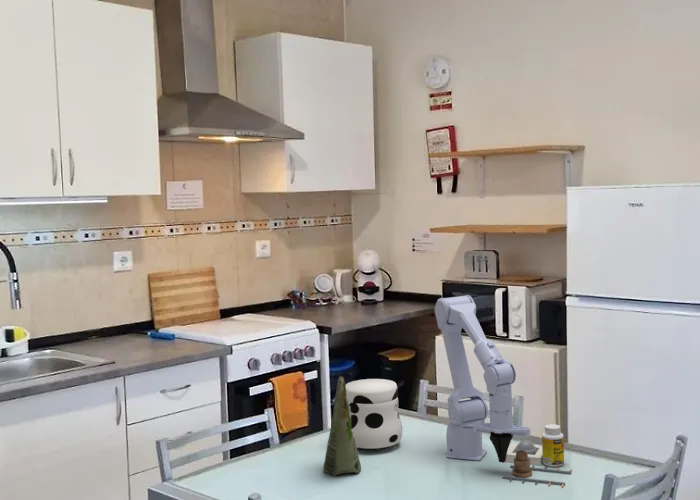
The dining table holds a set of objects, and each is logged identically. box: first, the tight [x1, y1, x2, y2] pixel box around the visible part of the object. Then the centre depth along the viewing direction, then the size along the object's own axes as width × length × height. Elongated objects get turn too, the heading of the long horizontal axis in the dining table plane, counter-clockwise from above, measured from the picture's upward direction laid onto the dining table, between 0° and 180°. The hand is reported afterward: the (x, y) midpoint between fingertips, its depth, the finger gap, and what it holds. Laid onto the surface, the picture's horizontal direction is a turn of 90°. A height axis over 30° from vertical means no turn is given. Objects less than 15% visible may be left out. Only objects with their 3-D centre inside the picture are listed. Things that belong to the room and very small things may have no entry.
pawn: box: [511, 450, 533, 478], centre depth 207 cm, size 5×5×6 cm
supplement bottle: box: [541, 423, 565, 468], centre depth 214 cm, size 6×6×10 cm
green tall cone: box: [322, 375, 362, 476], centre depth 215 cm, size 11×12×25 cm
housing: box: [504, 442, 543, 466], centre depth 220 cm, size 10×10×2 cm
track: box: [501, 464, 573, 489], centre depth 206 cm, size 16×12×1 cm
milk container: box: [345, 378, 403, 452], centre depth 236 cm, size 17×17×18 cm
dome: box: [516, 439, 536, 455], centre depth 220 cm, size 5×5×5 cm
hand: (502, 461), depth 210 cm, fingers closed
